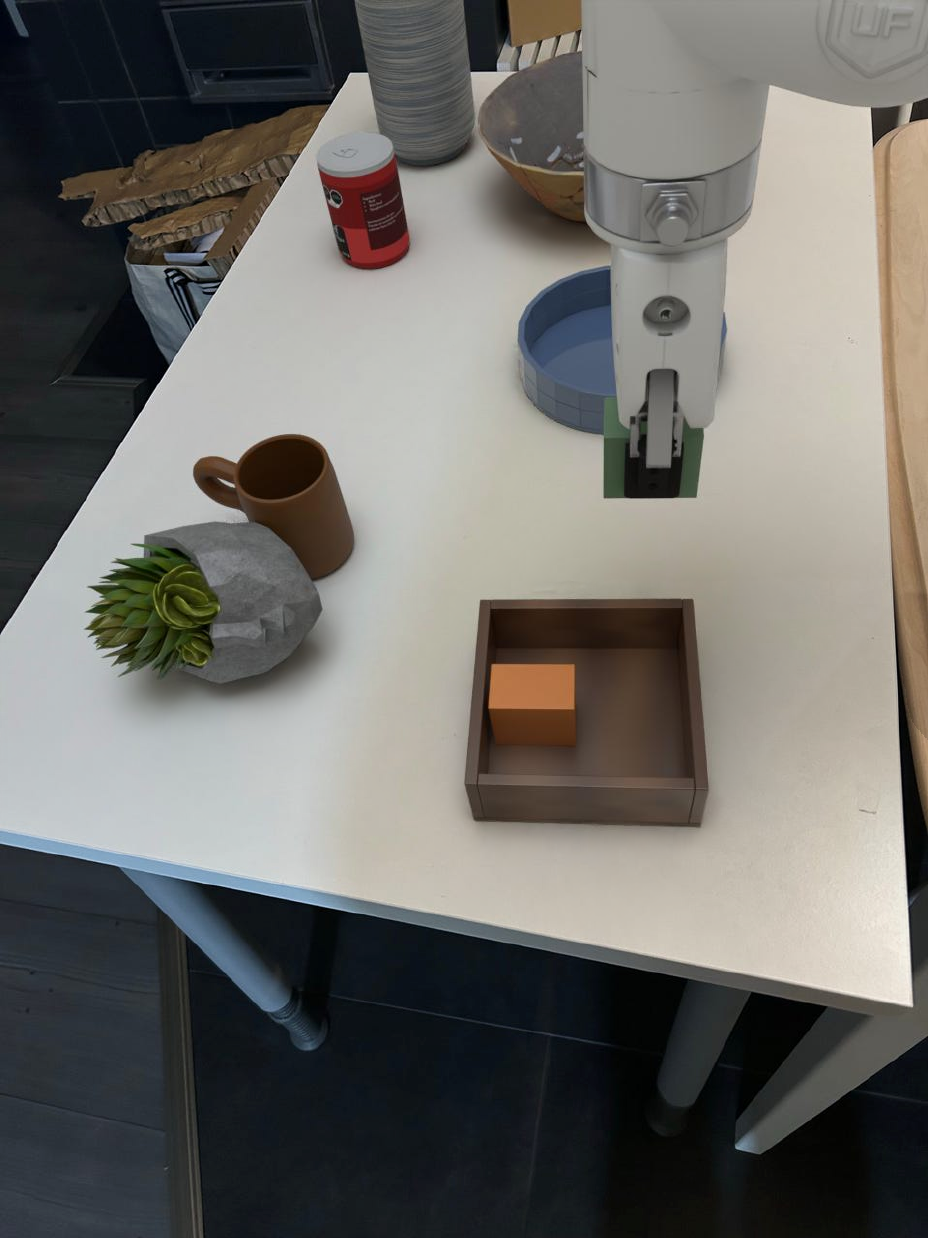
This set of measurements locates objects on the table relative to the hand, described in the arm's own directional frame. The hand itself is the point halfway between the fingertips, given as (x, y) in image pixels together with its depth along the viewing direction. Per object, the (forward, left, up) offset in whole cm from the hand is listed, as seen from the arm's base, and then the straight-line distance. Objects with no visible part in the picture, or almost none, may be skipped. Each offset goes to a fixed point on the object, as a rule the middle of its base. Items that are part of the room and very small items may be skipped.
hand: (650, 467), depth 55 cm
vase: (+23, -71, -16) cm, 76 cm away
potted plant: (+31, +3, -16) cm, 35 cm away
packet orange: (+7, +9, -15) cm, 19 cm away
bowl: (+3, -58, -16) cm, 60 cm away
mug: (+29, -8, -16) cm, 34 cm away
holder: (+4, +9, -16) cm, 19 cm away
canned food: (+27, -50, -16) cm, 59 cm away
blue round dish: (+1, -29, -16) cm, 33 cm away
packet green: (0, 0, -1) cm, 1 cm away
